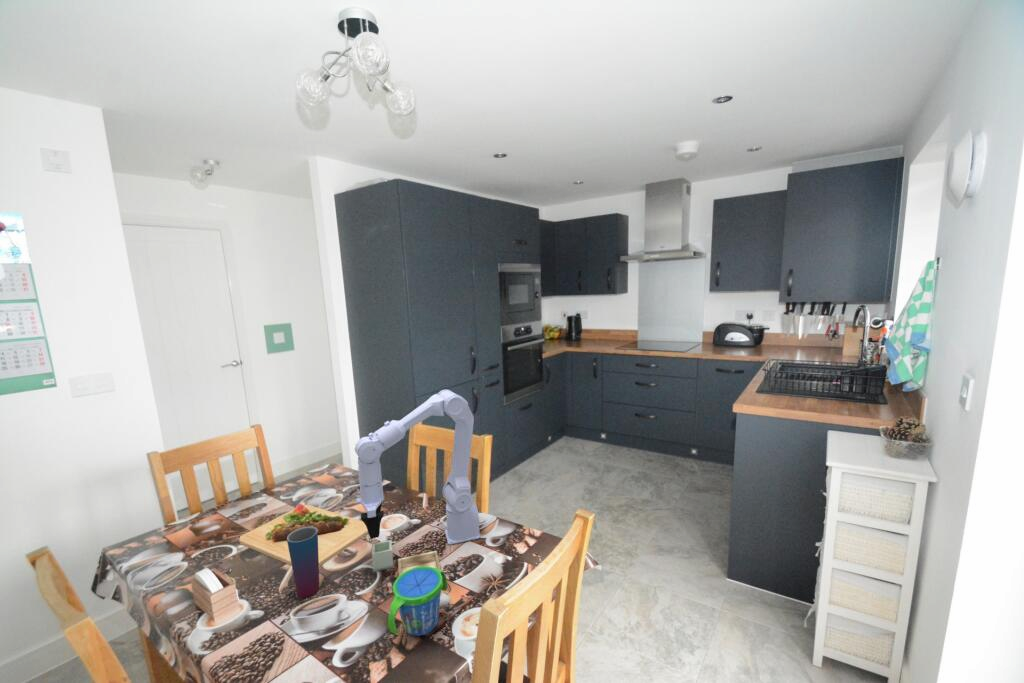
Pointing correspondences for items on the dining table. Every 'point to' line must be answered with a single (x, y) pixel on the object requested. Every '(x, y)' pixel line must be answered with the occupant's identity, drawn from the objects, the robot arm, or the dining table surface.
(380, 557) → the small crate
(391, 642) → the dining table surface
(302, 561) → the cup
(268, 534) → the cutting board
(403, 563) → the beige wooden tray
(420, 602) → the snack cup
